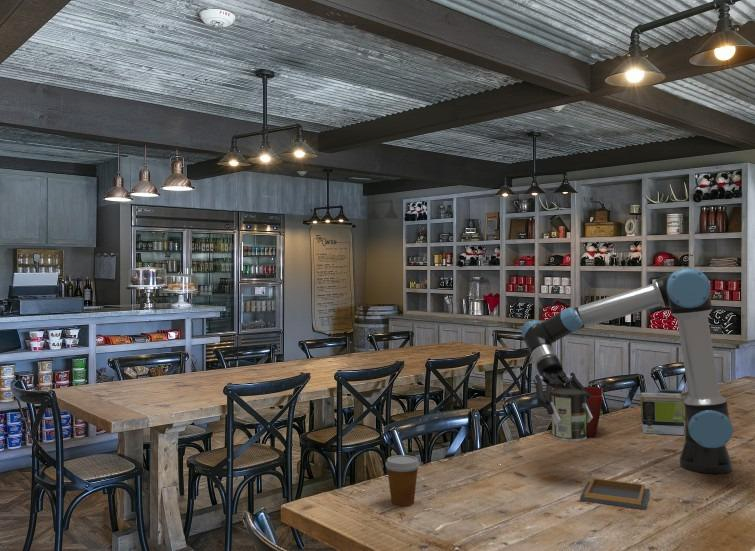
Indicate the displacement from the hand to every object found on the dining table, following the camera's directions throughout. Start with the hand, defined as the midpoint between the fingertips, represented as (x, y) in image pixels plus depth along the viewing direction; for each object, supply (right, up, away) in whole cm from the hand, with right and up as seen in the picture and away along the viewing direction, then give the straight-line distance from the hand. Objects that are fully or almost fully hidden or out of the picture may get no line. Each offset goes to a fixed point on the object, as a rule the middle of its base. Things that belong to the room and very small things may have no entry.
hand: (574, 421), depth 197 cm
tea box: (+53, -18, +62) cm, 84 cm away
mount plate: (+8, -19, -12) cm, 23 cm away
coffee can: (-1, -6, +3) cm, 6 cm away
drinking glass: (+66, -18, +84) cm, 108 cm away
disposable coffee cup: (-52, -20, -14) cm, 57 cm away
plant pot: (+20, -19, +62) cm, 68 cm away
